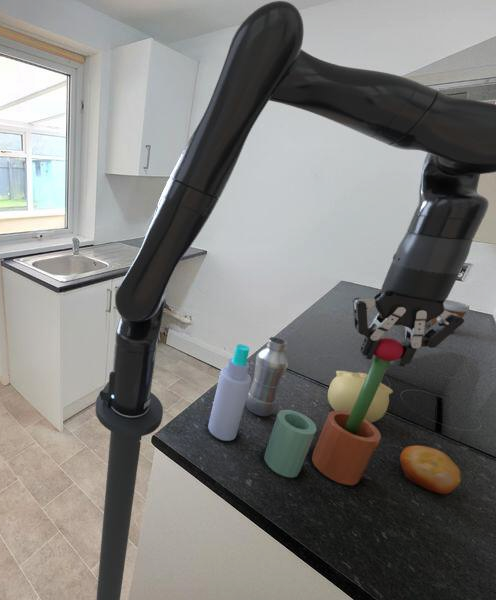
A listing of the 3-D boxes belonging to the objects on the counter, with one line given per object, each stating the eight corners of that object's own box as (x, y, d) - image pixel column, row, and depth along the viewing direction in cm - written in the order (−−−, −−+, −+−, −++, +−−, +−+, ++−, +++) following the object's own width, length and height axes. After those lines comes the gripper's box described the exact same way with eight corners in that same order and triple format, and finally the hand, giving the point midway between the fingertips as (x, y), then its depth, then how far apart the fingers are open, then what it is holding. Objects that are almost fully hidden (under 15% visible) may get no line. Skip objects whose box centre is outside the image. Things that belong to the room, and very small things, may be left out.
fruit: (451, 471, 62) (470, 457, 57) (443, 507, 59) (462, 496, 54) (397, 446, 67) (410, 431, 62) (387, 479, 64) (399, 466, 59)
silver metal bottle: (271, 423, 74) (295, 351, 67) (241, 412, 77) (260, 341, 70) (273, 408, 79) (295, 339, 72) (244, 398, 82) (263, 331, 75)
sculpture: (380, 412, 80) (397, 377, 76) (377, 437, 71) (396, 399, 68) (327, 391, 87) (340, 358, 83) (319, 412, 79) (333, 376, 75)
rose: (335, 446, 60) (381, 341, 52) (330, 432, 63) (372, 331, 55) (361, 453, 58) (412, 347, 50) (354, 439, 62) (401, 336, 54)
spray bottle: (226, 446, 67) (249, 358, 59) (202, 428, 71) (221, 344, 63) (241, 434, 70) (265, 350, 62) (217, 418, 75) (237, 337, 67)
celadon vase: (265, 469, 62) (279, 426, 58) (263, 446, 67) (276, 405, 63) (302, 482, 60) (319, 438, 56) (297, 457, 65) (313, 416, 61)
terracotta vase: (315, 475, 61) (334, 432, 57) (308, 445, 68) (324, 405, 64) (365, 492, 58) (388, 447, 54) (352, 459, 65) (371, 418, 61)
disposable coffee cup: (423, 322, 138) (435, 297, 133) (453, 329, 132) (467, 303, 128) (427, 329, 131) (440, 303, 126) (459, 337, 125) (474, 309, 121)
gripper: (376, 263, 47) (339, 360, 53) (506, 278, 42) (448, 384, 48) (360, 254, 54) (328, 341, 60) (471, 266, 48) (424, 360, 55)
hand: (382, 360), depth 54 cm, fingers closed on rose, 4 cm apart
